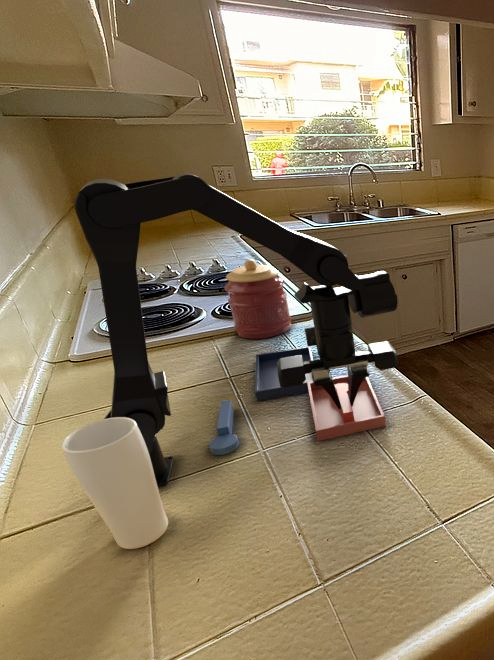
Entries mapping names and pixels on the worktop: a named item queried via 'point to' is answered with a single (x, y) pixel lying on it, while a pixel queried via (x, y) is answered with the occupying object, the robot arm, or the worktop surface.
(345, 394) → the terracotta spoon
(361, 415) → the rose tray
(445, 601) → the worktop surface
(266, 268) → the kitchen canister
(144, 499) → the drinking glass
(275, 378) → the navy tray
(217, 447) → the blue spoon
